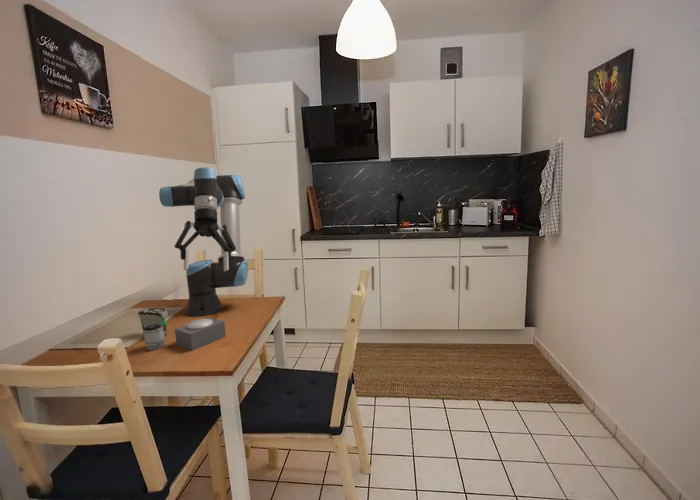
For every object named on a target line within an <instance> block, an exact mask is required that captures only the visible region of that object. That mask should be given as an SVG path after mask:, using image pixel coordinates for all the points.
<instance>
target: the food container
mask: <svg viewBox="0 0 700 500" xmlns="http://www.w3.org/2000/svg"><path fill="white" fill-rule="evenodd" d="M168 315H169V313H168V311H167V309H166V308H165V307H162V306H151V307H147V308H142V309H139V310H138V312H137V316H139V320H140V323H141V329H142V332H143V330H144V329H145V328H146V327H148V326H150V325H154V324H158V325H161V326H163V332H164V337H165V336H167V332H168V330H167V327H168V325H167V316H168ZM143 335H144V332H143Z"/></svg>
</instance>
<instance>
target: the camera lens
mask: <svg viewBox="0 0 700 500" xmlns="http://www.w3.org/2000/svg"><path fill="white" fill-rule="evenodd" d="M142 332H144V334H143V338H144V345H145V347H146V350H148V351H155V350H161V349H163V348H164V347H165V341H166V340H165V336H164V332H163V326H161V325H158V324H154V325H150V326H148V327H146V328H145V329H144V330H143V329H142Z"/></svg>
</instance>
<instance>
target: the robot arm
mask: <svg viewBox="0 0 700 500" xmlns="http://www.w3.org/2000/svg"><path fill="white" fill-rule="evenodd" d="M158 197H159V202H160V204H161V205H162V206H163V207H167V208H168V207H170V208H173V207H188V206H189V207H190V206H192V207H193V208H194V222H191V221H190V220H187V221H186V222H185V223H184V228H183V230H182V232H181V234H180V235H179V237H178V239H177V240H176V242H175V245H173V246H174V248H175V249H178V250H179V251H180V260H183V271H186V272H185V273H186V274H185V276H186V282H187V290H188V300H187V304H186V314H187V315H188V316H189V317H190V316H192V317H201V316H208V315H212V314H215V313H218V312H220V311H221V310H222V303H221V301H220V298H219V296H218V295H217V294H218V293H217V290H216V289H220V288H222V289H223V288H230V287H231V288H237V287H243V286H245V285H246V283H247V280H248V276H249V275H248V273H249V263H248V260H245V256H243V255H242V252H241V229H240V228H241V227H240V226H241V225H240V206H241V205H242V203H243V200H244V199H246V193H245V187H244V183H243V179H242V177H241V176H240V175H238V174H225V175H224V174H223V175H222V174H221V175H217V172H216V170H215V169H213V168H211V167H206V166H205V167H198V168H196V169H195V170H194V173H193V179H190V180H189V181H188V182H186V183H184V184H183V183H182V184H179V185H175V186H174V185H173V186H162V187H160V189H159V192H158ZM218 208H219V209H220V211H219V212H220V215H219V216H220V225H219V223H218V211H217V210H218ZM191 228H193V229H194V230H195V231H194V233H193V234H192V235H191V236H190V237H189V238H188V239H187V241H185V242H184V243H183V241H184V240H185V239H186V236H187V234H188V233H189V231H190V229H191ZM218 230H219V232H220V233H219V232H218ZM198 236H200V237H206V238H211V237H212V239H214V241H216V243H217V244H218V245H219V247H221V248H220V249H221V250H220V251H221V253H220V256H219V257H218V258H217V261H218V262H214V261H213V260H212V259H204V260H202V259H201V260H198V261H195V262H192V263H189V261H190V259H189V257H190V255H189V253H190V251H189V249H187V247H189V245H191V243H193V241H195V239H196V238H197V237H198ZM182 243H183V244H182Z"/></svg>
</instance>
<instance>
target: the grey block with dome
mask: <svg viewBox="0 0 700 500" xmlns="http://www.w3.org/2000/svg"><path fill="white" fill-rule="evenodd" d="M226 334H227V333H226V325H225V321H223V320H220V319H217V318H212V317H209V316H208V317H204V318H200V319H199V318H198V319H195V320H191V321H189V322H188V323H186V324H185V325H181V326H179V327H176V328H174V335H175V336H174V337H175V342H176V343H175V344H176V345H177V346H180V347H182V348H185V349H188V350H190V351H195V350H197V349H199V348H202V347H204V346H207V345H209V344H211V343H214V342H217V341H219V340H221V339H224V338H226V336H227V335H226Z"/></svg>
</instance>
